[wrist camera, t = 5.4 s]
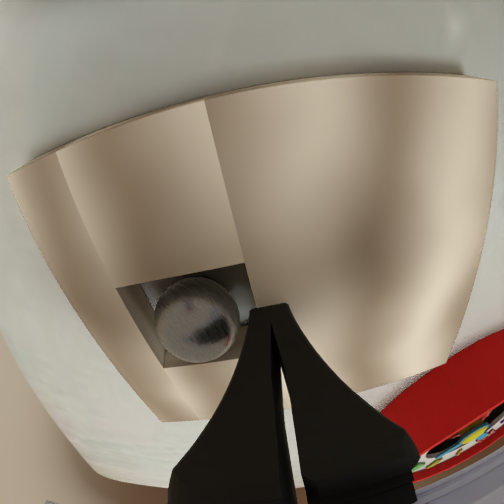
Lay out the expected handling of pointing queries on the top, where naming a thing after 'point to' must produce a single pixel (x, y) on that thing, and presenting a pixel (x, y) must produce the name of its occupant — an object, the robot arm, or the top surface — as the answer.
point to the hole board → (278, 222)
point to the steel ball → (196, 319)
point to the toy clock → (454, 407)
